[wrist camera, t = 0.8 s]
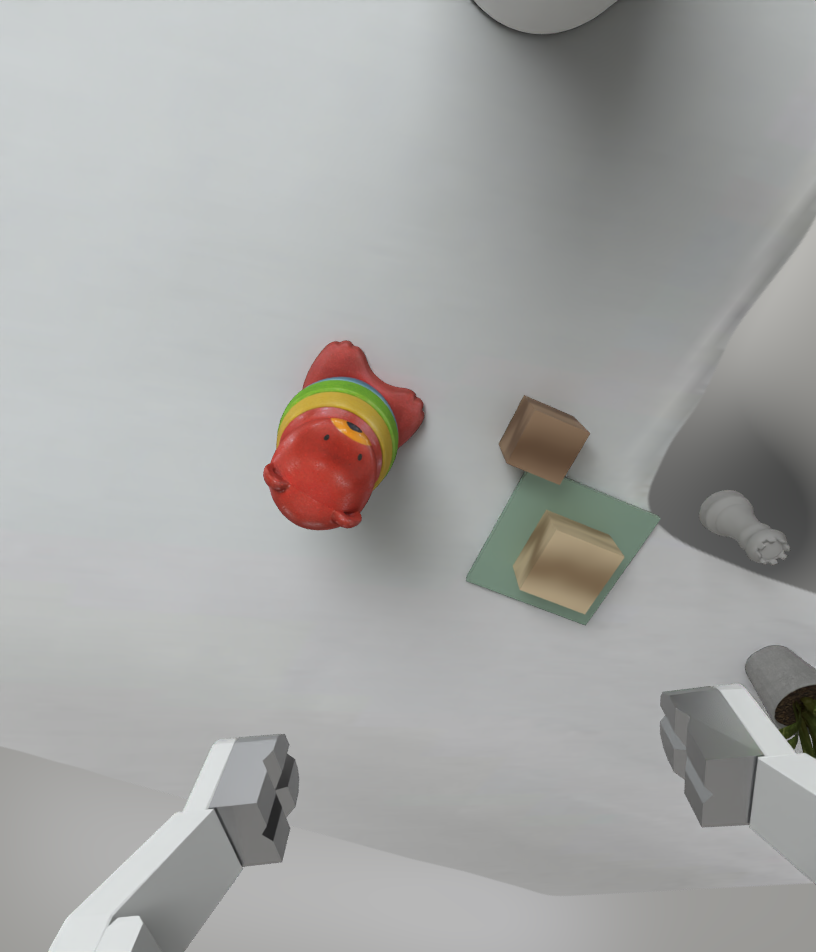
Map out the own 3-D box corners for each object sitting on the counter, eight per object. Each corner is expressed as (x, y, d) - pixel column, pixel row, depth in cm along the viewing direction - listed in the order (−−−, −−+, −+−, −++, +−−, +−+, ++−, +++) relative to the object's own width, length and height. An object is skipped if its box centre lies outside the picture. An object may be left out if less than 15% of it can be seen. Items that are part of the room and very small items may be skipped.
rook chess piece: (741, 526, 49) (798, 572, 41) (694, 531, 49) (742, 578, 42) (746, 484, 47) (807, 525, 40) (697, 490, 47) (748, 532, 40)
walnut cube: (523, 395, 44) (535, 409, 40) (573, 416, 45) (590, 433, 40) (498, 443, 46) (506, 463, 42) (546, 463, 47) (559, 485, 42)
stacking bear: (434, 407, 45) (440, 489, 29) (366, 486, 48) (337, 599, 32) (337, 329, 43) (283, 369, 26) (273, 417, 46) (189, 501, 29)
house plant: (700, 727, 59) (794, 884, 44) (684, 639, 54) (783, 783, 39) (829, 699, 57) (974, 855, 42) (824, 605, 52) (987, 744, 37)
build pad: (529, 462, 47) (531, 465, 46) (658, 515, 48) (660, 518, 48) (466, 577, 52) (466, 580, 51) (584, 621, 54) (585, 625, 53)
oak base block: (546, 509, 48) (556, 529, 44) (609, 535, 49) (624, 557, 45) (512, 566, 50) (519, 589, 47) (573, 589, 51) (584, 614, 48)
